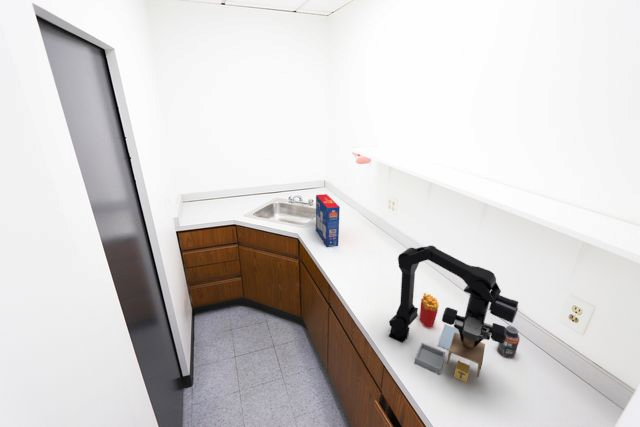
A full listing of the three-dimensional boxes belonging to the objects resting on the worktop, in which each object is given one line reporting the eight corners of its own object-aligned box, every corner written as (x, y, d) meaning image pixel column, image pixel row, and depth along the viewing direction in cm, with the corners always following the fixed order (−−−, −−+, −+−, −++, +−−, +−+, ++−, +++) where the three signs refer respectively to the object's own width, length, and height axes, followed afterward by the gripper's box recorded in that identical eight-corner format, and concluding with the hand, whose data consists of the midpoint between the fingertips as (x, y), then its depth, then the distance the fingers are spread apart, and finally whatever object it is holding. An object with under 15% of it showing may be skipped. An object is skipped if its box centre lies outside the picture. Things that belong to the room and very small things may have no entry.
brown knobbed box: (446, 363, 102) (451, 341, 98) (451, 344, 110) (456, 323, 106) (478, 377, 97) (484, 354, 93) (481, 356, 105) (487, 334, 101)
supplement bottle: (508, 346, 117) (515, 323, 113) (518, 358, 112) (525, 335, 108) (493, 346, 117) (500, 323, 113) (502, 358, 111) (509, 335, 107)
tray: (414, 363, 109) (415, 358, 108) (420, 347, 116) (421, 342, 115) (439, 374, 105) (440, 369, 104) (444, 357, 112) (445, 352, 111)
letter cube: (453, 377, 104) (455, 368, 103) (455, 368, 107) (457, 360, 106) (466, 382, 102) (468, 374, 101) (467, 373, 105) (469, 365, 104)
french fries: (416, 316, 133) (420, 292, 128) (424, 315, 134) (428, 291, 129) (428, 331, 125) (433, 305, 120) (437, 329, 126) (442, 304, 121)
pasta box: (338, 246, 197) (339, 206, 187) (326, 247, 195) (327, 207, 185) (326, 229, 222) (326, 194, 212) (315, 230, 220) (316, 194, 210)
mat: (437, 345, 117) (437, 345, 117) (444, 324, 128) (444, 324, 128) (476, 361, 110) (476, 360, 110) (480, 337, 121) (480, 337, 121)
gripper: (442, 310, 94) (434, 347, 100) (510, 333, 85) (497, 373, 91) (449, 292, 103) (441, 327, 109) (511, 311, 94) (499, 349, 99)
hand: (468, 343), depth 102 cm, fingers closed on brown knobbed box, 4 cm apart
